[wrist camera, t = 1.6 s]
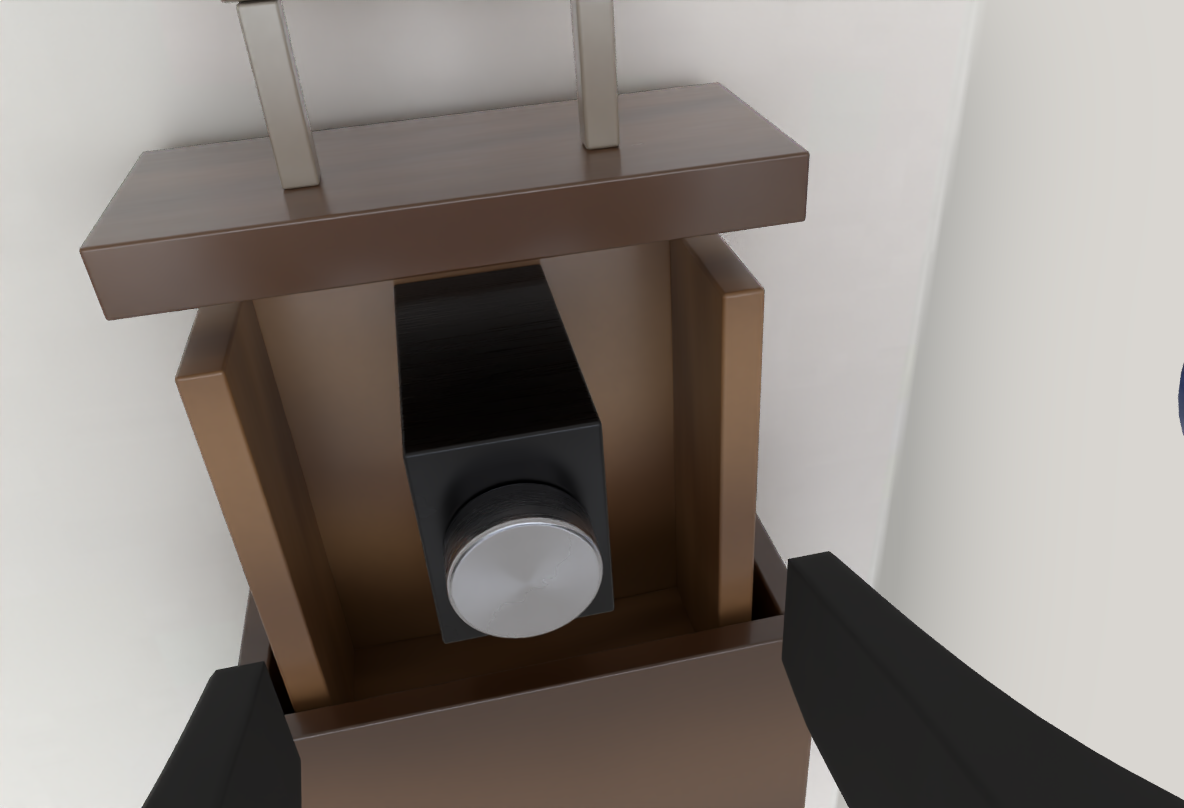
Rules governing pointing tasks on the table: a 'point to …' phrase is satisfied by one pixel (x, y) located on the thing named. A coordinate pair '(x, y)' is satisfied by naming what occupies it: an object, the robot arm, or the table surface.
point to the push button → (501, 456)
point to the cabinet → (574, 726)
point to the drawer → (369, 351)
